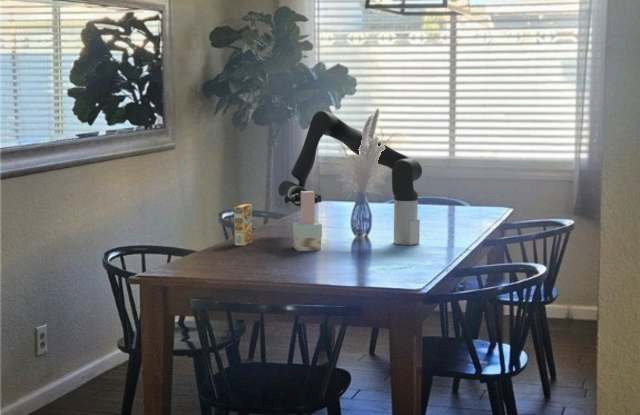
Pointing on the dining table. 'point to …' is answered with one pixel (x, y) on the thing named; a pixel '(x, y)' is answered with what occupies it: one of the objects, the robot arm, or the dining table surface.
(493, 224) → the dining table surface
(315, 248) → the tower base
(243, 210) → the candy box
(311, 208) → the pillar block
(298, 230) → the tower top
